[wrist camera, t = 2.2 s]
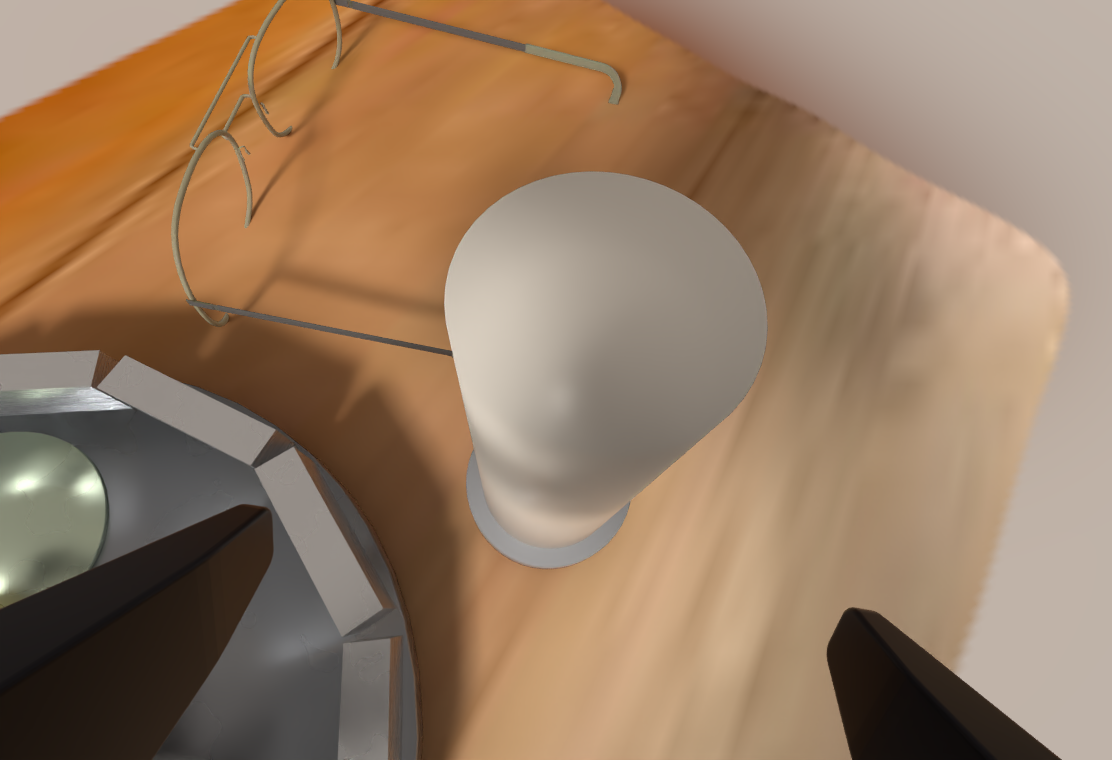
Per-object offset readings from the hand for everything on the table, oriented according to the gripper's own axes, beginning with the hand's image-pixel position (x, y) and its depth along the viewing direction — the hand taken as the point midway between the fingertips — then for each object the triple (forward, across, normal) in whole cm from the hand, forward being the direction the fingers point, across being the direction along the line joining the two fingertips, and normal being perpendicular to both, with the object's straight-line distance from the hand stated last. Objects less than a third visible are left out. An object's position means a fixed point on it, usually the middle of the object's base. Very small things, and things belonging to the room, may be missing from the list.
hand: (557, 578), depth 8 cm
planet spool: (+10, 0, +5) cm, 11 cm away
